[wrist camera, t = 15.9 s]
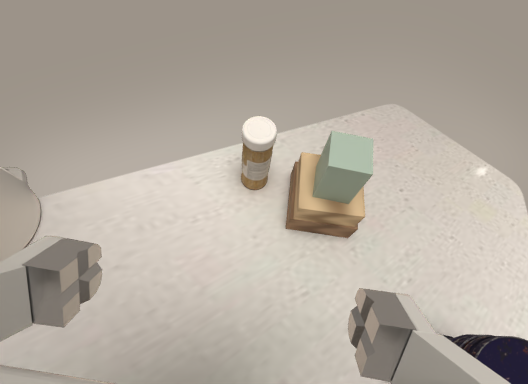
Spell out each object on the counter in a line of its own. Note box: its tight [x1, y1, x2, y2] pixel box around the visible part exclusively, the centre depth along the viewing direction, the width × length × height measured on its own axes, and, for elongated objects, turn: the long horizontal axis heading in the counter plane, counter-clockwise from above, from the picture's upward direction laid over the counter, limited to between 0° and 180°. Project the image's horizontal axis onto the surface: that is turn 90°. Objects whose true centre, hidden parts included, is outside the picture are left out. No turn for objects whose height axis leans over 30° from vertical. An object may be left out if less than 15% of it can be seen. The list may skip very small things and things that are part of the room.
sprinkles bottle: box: [241, 116, 277, 190], centre depth 43 cm, size 5×5×14 cm
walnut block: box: [286, 161, 358, 238], centre depth 46 cm, size 10×10×4 cm
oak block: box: [293, 152, 365, 227], centre depth 42 cm, size 9×9×4 cm
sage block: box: [312, 131, 373, 204], centre depth 37 cm, size 5×5×8 cm
